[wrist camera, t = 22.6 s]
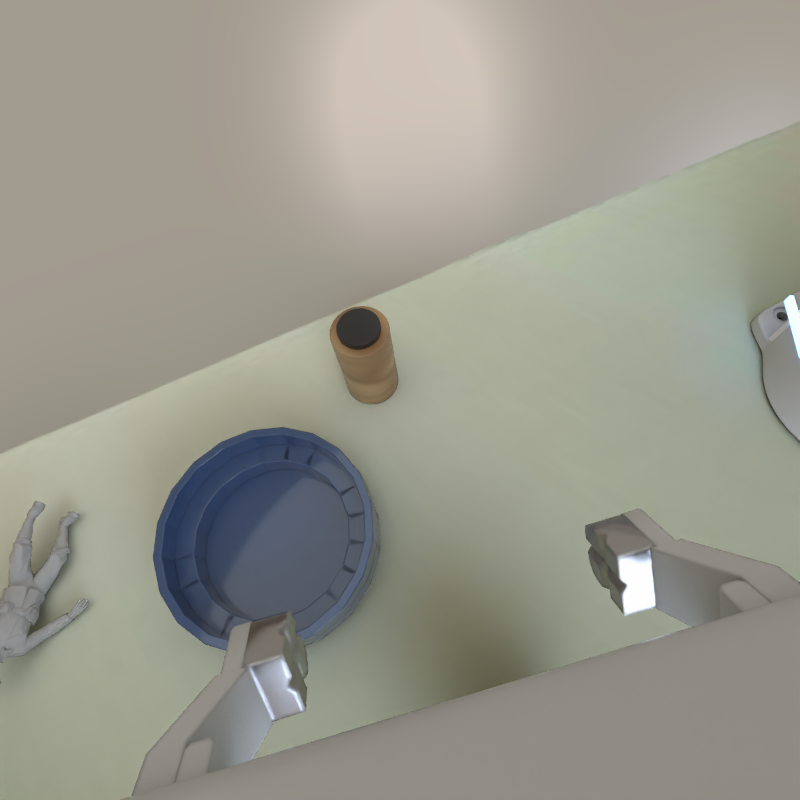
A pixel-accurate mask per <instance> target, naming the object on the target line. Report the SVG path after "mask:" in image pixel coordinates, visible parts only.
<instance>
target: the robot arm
mask: <svg viewBox="0 0 800 800" xmlns="http://www.w3.org/2000/svg"><path fill="white" fill-rule="evenodd" d="M777 317H779V318H781V319H782V320H783V321H782V320H780V319H778V318H777ZM751 327H752V331H753V334H754V336H755V339H756V341H757V343H758V345H759V347H760V349H761V350H762V355H763V381H764V386H765V390H766V393H767V396H768V399H769V401H770V403H771V405H772V407H773V409H774V411H775V413H776V414H777V416H778V417H779V419H780V420H781V421H782V423H783V424H784V425H785V426H786V428H787V429H788V430H789V431H790V432H791V433H792V434H793V435H794V436H795V437H796V438H797V439H798V440H799V441H800V291H798V292H796V293H794V294H793V295H790V296H789V297H787V298H786V299H784V300H782V301H780V302H779V303H777V304H775V305H773V306H772V307H770V308H768V309H766V310H765V311H763V312H762V313H760V314H759V315H758V316H757V317H755V318H754V319H753V320H752V323H751ZM585 534H586V539H587V540H588V541H589V542H590V544H591V547H590V549H589V551H588V555H589V560H590V564H591V567H592V570H593V573H594V574H595V576H596V578H597V580H598V581H599V583H600V584H601V585H602V587H605V588H607V589H610V594H611V599H612V600H613V601H614V602H615V604H616V605H617V606H618V608H619V609H620V610H621V612H622V613H623V614H624V615H629V614H632V613H636V612H640V611H643V610H647V609H651V608H655V607H657V609H659V610H661V611H663V612H665V613H667V614H669V615H670V616H672V617H674V618H676V619H678V620H680V621H682V622H684V623H686V624H688V625H690V626H692V627H691V628H688V629H684V630H681V631H678V632H674V633H671V634H668V635H664V636H661V637H658V638H654V639H651V640H648V641H644V642H641V643H638V644H635V645H631V646H628V647H625V648H621V649H618V650H615V651H611V652H608V653H605V654H601V655H598V656H595V657H592V658H588V659H585V660H582V661H578V662H575V663H572V664H568V665H565V666H562V667H558V668H555V669H552V670H549V671H545V672H542V673H539V674H535V675H532V676H529V677H525V678H522V679H519V680H515V681H512V682H509V683H506V684H502V685H499V686H496V687H492V688H489V689H486V690H482V691H479V692H476V693H472V694H469V695H466V696H462V697H459V698H456V699H452V700H449V701H446V702H443V703H439V704H436V705H433V706H429V707H426V708H423V709H419V710H416V711H413V712H409V713H406V714H403V715H399V716H396V717H393V718H389V719H386V720H383V721H380V722H376V723H373V724H370V725H366V726H363V727H360V728H356V729H353V730H350V731H346V732H343V733H340V734H336V735H333V736H330V737H327V738H323V739H320V740H317V741H313V742H310V743H307V744H303V745H300V746H297V747H293V748H290V749H287V750H283V751H280V752H277V753H273V754H270V755H267V756H264V757H260V758H257V759H254V760H253V758H254V756H255V754H256V753H257V751H258V749H259V747H260V746H261V744H262V742H263V740H264V739H265V737H266V735H267V733H268V732H269V730H270V728H271V726H272V725H273V723H272V722H274V721H277V720H280V719H283V718H286V717H289V716H292V715H295V714H298V713H301V712H304V711H306V697H307V687H306V685H305V682H304V678H305V677H306V675H307V674H308V661H307V653H306V649H305V645H304V642H303V639H302V636H300V635H299V634H297V633H295V632H296V621H295V619H294V617H293V614H292V613H291V612H290V611H287V612H284V613H280V614H276V615H272V616H269V617H265V618H261V619H257V620H254V621H250V622H247V623H243V624H240V625H236V626H234V627H233V628H232V630H231V633H230V637H229V641H228V646H227V650H226V654H225V658H224V662H223V666H222V670H221V674H220V675H217V676H215V677H214V678H213V679H212V680H211V681H210V682H209V684H208V685H207V686H206V687H205V688H204V689H203V690H202V692H201V693H200V694H199V695H198V696H197V697H196V698H195V699H194V701H193V702H192V703H191V704H190V705H189V706H188V707H187V709H186V710H185V711H184V712H183V713H182V714H181V715H180V716H179V718H178V719H177V720H176V721H175V722H174V723H173V724H172V726H171V727H170V728H169V729H168V730H167V731H166V732H165V733H164V735H163V736H162V737H161V738H160V739H159V740H158V741H157V743H156V744H155V745H154V746H153V747H152V748H151V749H150V750H149V752H148V753H147V754H146V756H145V758H144V761H143V764H142V767H141V770H140V773H139V776H138V779H137V781H136V784H135V787H134V790H133V793H132V796H131V797H128V798H124V799H121V800H800V583H799V582H798V581H797V580H795V579H794V578H793V577H791V576H790V575H789V574H787V573H786V572H785V571H783V570H782V569H781V568H780V567H778V566H775V565H772V564H768V563H764V562H761V561H757V560H754V559H750V558H747V557H743V556H740V555H736V554H733V553H729V552H725V551H722V550H718V549H715V548H711V547H708V546H704V545H701V544H697V543H694V542H690V541H686V540H683V539H680V540H675V539H674V538H673V537H672V536H671V535H669V534H668V533H667V532H666V531H665V530H664V529H663V528H662V527H660V526H659V525H658V524H657V523H656V522H655V521H654V520H653V519H651V518H650V517H649V516H648V515H647V514H646V513H645V512H644V511H642V510H641V509H635V510H632V511H629V512H626V513H623V514H621V515H619V516H615V517H612V518H608V519H605V520H602V521H598V522H595V523H591V524H588V525H586V526H585Z"/></svg>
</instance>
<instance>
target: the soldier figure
mask: <svg viewBox="0 0 800 800" xmlns="http://www.w3.org/2000/svg"><path fill="white" fill-rule="evenodd" d="M44 508H45V504H43V503H41V502H37V501H35V502H34V504H33V506H32V508H31V509H30V510H29V512H28V513H27V518H26V519H25V521H24V523H23V525H22V528H21V530H20V532H19V534H18V536H17V538H16V540H15V542H14V544H13V546H14V549H13V550H12V552H11V553H10V557H9V559H10V570H9V584H8V588H5V589H4V591H3V595H2V598H1V600H0V663H2V662H4V661H5V659H7V658H8V657H17V656H23V655H24V654H25V653H27V652H28V651H29V650H31V649H32V648H34V647H35V646H36V645H38V644H40V643H41V642H43V641H44V640H45V639H47V638H49V637H50V636H53V635H54V634H55V633H57V632H58V631H59V630H61V629H62V628H63V627H65V626H66V625H67V624H68V623H70V622H71V621H72V620H74V618H75V617H76V616H77V615H78V614H80V613H81V612H82V611H83V610H84V609H85V608H86V607H87V605H88V603H89V602H90V601H88V599H87V600H86V601H85V599H83V600H82V602H81V603H80V601H81V599H79V601H78V602H77V604H76V605H75V607H74V608H73V609H72V610H71V611H70V613H66V614H64V615H63V616H61V617H59V618H58V619H56V620H54V621H51V622H50V623H48V624H47V625H46V626H44V627H42V628H41V629H39V630H37V631H34V632H33V633H31V634H29V635H28V632H29V629H30V625H35V623H36V621H37V619H38V618H39V616H40V613H39V606H40V604H41V603H42V602H43V601H44V599H45V596H44V595H45V594H46V593H47V591H48V590H49V589H50V587H51V585H52V584H53V582H54V580H55V579H56V577H57V576H58V574H59V571H60V569H61V567H62V565H63V564H64V563H65V562H66V561H67V554H68V553H69V552H70V549H69V547H68V529H67V528H68V526H70V525H71V524H72V523H73V522H74V521H76V520H77V519H78V517H79V516H80V515H79V514H77V513H75V512H69V513H68V515H67V516H66V517H63V518H61V520H60V523H59V532H58V536H57V539H56V541H55V544H54V548H53V549H52V552H51V553H50V554H51V555H50V557H49V558H48V559H47V560H46V562H45V563H44V565H43V567H42V568H41V569H40V570H39V571H38V572H37V573H36V574H35V575H34V576H33V573H32V570H31V558H30V557H31V553H32V545H31V543H32V541H31V538H32V532H33V523H34V521H35V519H36V517H37V516H38V515H39V514H40V513H41V512H42V511H43V510H44ZM84 601H85V602H84ZM87 601H88V602H87ZM83 602H84V604H83ZM86 602H87V603H86ZM79 603H80V604H79ZM82 604H83V605H82ZM85 604H86V605H85ZM78 605H79V606H78ZM81 605H82V606H81ZM1 683H2V682H1V681H0V684H1Z"/></svg>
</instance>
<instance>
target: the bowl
mask: <svg viewBox="0 0 800 800" xmlns="http://www.w3.org/2000/svg"><path fill="white" fill-rule="evenodd" d="M379 548H380V540H379V521H378V514H377V512H376V509H375V507H374V504H373V502H372V499H371V496H370V494H369V491H368V489H367V487H366V485H365V482H364V480H363V478H362V476H361V474H360V472H359V471H358V470H357V469H356V468H355V466H354V465H353V464H352V463H351V462H350V461H349V459H348V458H347V457H346V456H345V455H344V453H343V452H342V451H341V450H340V449H339V448H337V447H335V446H334V445H332V444H330V443H329V442H327V441H325V440H323V439H322V438H320V437H318V436H317V435H315V434H313V433H308V432H303V431H299V430H294V429H289V428H284V427H283V428H282V427H281V428H270V429H260V430H252V431H248V432H246V433H243V434H240V435H238V436H235V437H233V438H230V439H228V440H225V441H223V442H221V443H219V444H218V445H216V446H215V447H214V448H212V449H211V450H210V451H208V452H207V453H206V454H204V455H203V456H202V457H200V458H199V459H198V460H196V461H195V462H194V463H193V464H192V465H191V466H190V468H189V469H188V470H187V471H186V473H185V474H184V475H183V476H182V478H181V479H180V480H179V482H178V483H177V484H176V485H175V487H174V488H173V489H172V491H171V492H170V495H169V497H168V499H167V502H166V504H165V506H164V509H163V511H162V513H161V516H160V518H159V520H158V523H157V530H156V538H155V546H154V554H153V560H154V565H155V571H156V576H157V581H158V587H159V592H160V594H161V596H162V597H163V599H164V601H165V603H166V604H167V606H168V608H169V609H170V611H171V613H172V614H173V616H174V618H175V620H176V621H177V622H178V624H180V625H181V626H182V627H184V628H185V629H186V630H187V631H189V632H190V633H191V634H192V635H194V636H195V637H196V638H198V639H199V640H200V641H201V642H203V643H204V644H206V645H209V646H213V647H216V648H220V649H223V650H227V646H228V641H229V637H230V633H231V630H232V628H233V627H234V626H236V625H240V624H243V623H247V622H250V621H254V620H257V619H261V618H265V617H269V616H272V615H276V614H280V613H284V612H287V611H290V612H291V613H292V614H293V617H294V619H295V621H296V632H295V633H297V634H299V635H300V636H302V639H303V642H304V645H305V646H306V645H308V644H310V643H313V642H315V641H317V640H319V639H322V638H324V637H325V636H327V635H328V634H329V633H330V632H332V631H333V630H334V629H335V628H336V627H337V626H338V625H339V624H341V623H342V622H343V621H344V620H345V619H346V618H347V617H348V616H350V615H351V614H352V612H354V610H355V608H356V607H357V605H358V603H359V602H360V600H361V598H362V597H363V595H364V594H365V592H366V590H367V589H368V587H369V585H370V584H371V581H372V578H373V574H374V570H375V566H376V562H377V558H378V554H379V550H380V549H379Z"/></svg>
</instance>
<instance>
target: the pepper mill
mask: <svg viewBox="0 0 800 800" xmlns="http://www.w3.org/2000/svg"><path fill="white" fill-rule="evenodd" d="M330 340H331V343H332V346H333V348H334V351H335V354H336V356H337V359H338V362H339V365H340V367H341V370H342V373H343V375H344V378H345V381H346V384H347V386H348V389H349V391H350V393H351V395H352V396H353V397H354V398H355V399H357V400H358V401H360V402H363V403H366V404H376V403H380V402H383V401H385V400H387V399H388V398H389V397H390V396H391V395H392V394H393V393H394V392H395V390H396V388H397V385H398V375H397V369H396V363H395V357H394V351H393V345H392V340H391V334H390V328H389V324H388V321H387V319H386V318H385V316H384V315H383V314H382V313H381V312H379V311H378V310H376V309H374V308H371V307H365V306H359V307H353V308H350V309H347V310H345V311H344V312H342V313H341V314H340V315H338V316H337V317H336V319H335V320H334V321H333V323H332V326H331V329H330Z"/></svg>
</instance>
